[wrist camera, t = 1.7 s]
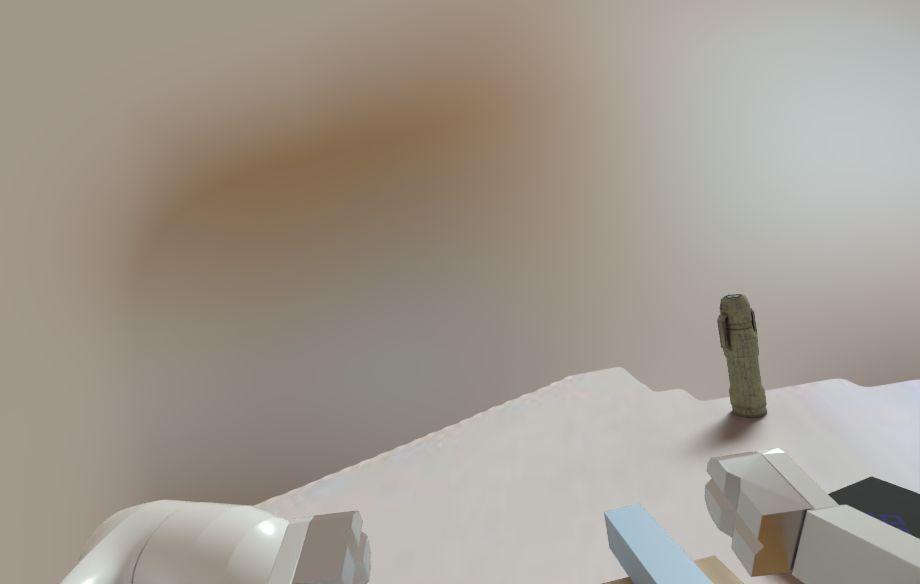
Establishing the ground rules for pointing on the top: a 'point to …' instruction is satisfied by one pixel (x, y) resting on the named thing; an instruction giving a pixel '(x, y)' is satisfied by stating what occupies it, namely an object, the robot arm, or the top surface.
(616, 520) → the light blue bar
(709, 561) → the carton
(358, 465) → the top surface
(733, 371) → the olive piece
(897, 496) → the book
